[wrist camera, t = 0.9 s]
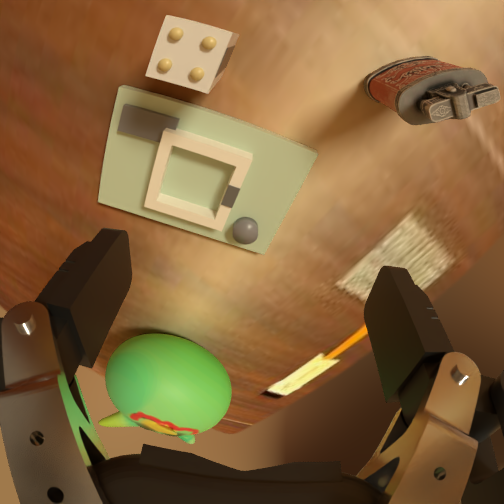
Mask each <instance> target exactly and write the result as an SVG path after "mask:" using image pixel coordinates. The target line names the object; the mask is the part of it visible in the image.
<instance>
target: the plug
mask: <svg viewBox="0 0 504 504" xmlns="http://www.w3.org/2000/svg"><path fill="white" fill-rule="evenodd" d="M238 37H239V34H236V33H233V32H230V31H227V30H223V29H220V28H217V27H213V26H210V25H206V24H203V23H199V22H195V21H192V20H187V19H183V18H179V17H174V16H169V15H166V17H165V20H164V23H163V25H162V28H161V31H160V33H159V36H158V39H157V42H156V45H155V48H154V50H153V53H152V57H151V60H150V63H149V66H148V69H147V72H146V75H145V76H147V77H151V78H155V79H159V80H163V81H166V82H170V83H174V84H177V85H181V86H184V87H187V88H191V89H194V90H197V91H201V92H204V93H207V94H208V93H209V92H210V91H211V90H212V88H213V87H214V86H215V85H216V83H217V82H218V81H219V80H220V79H221V77H222V75H223V72H224V70H225V68H226V66H227V64H228V61H229V59H230V56H231V54H232V52H233V49H234V47H235V44H236V41H237V39H238Z"/></svg>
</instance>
